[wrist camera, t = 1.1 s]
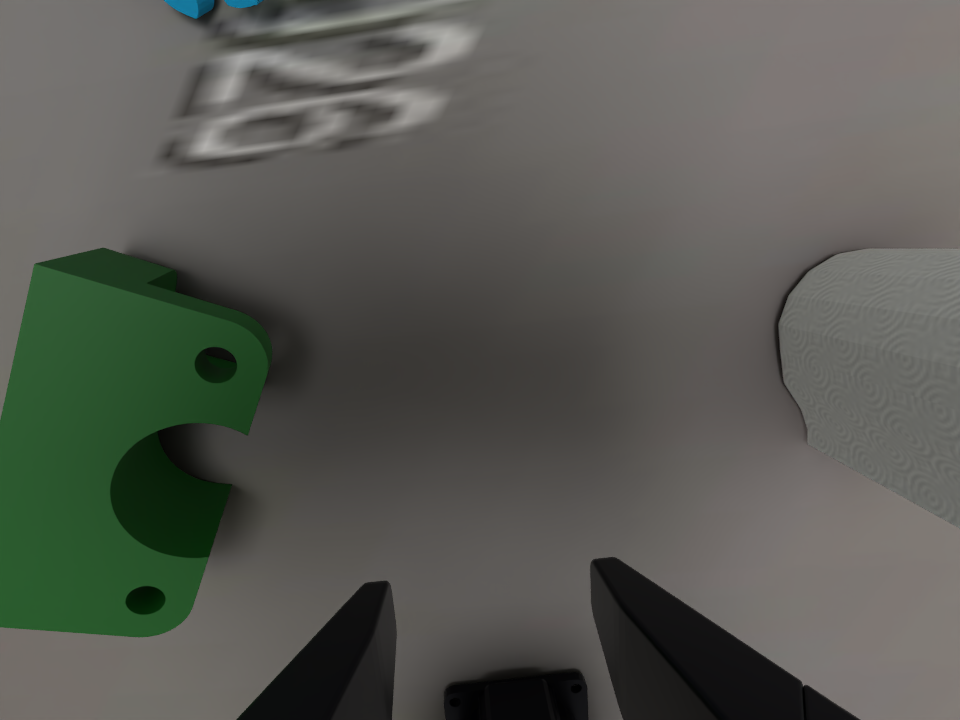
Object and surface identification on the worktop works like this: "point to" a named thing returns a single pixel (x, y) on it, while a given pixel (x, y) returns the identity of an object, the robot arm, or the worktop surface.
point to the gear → (205, 5)
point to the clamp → (114, 445)
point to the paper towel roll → (882, 368)
